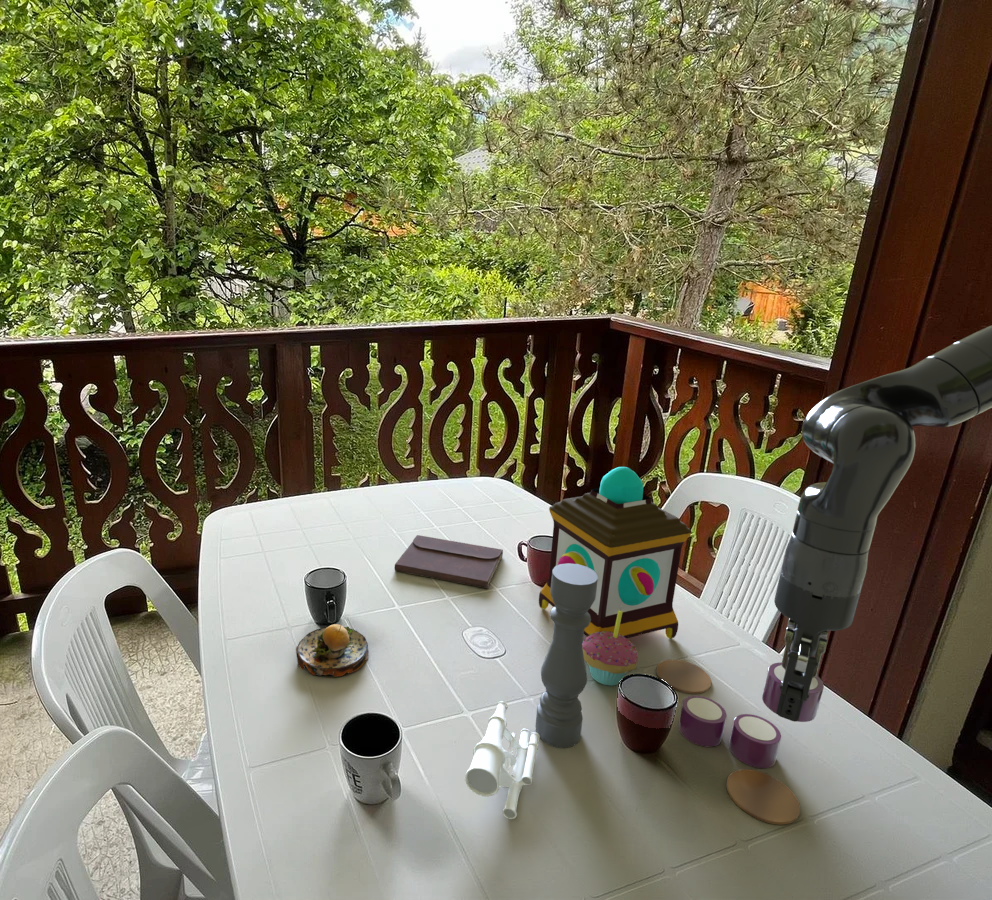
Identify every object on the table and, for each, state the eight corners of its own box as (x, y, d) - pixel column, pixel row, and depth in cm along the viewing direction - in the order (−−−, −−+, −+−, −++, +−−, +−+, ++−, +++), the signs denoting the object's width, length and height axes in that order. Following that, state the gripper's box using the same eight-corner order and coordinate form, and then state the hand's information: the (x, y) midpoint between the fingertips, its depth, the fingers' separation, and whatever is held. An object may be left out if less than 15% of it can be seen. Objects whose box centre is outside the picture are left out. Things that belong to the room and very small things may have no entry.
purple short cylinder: (817, 701, 77) (825, 673, 75) (814, 729, 72) (822, 699, 71) (765, 683, 80) (771, 656, 78) (759, 708, 75) (765, 680, 74)
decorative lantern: (613, 586, 128) (631, 444, 118) (688, 642, 110) (717, 479, 101) (527, 605, 121) (539, 455, 112) (593, 667, 103) (614, 495, 94)
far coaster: (714, 673, 102) (715, 671, 102) (705, 701, 96) (706, 698, 96) (662, 655, 106) (662, 653, 106) (650, 680, 100) (650, 678, 100)
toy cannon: (514, 745, 89) (544, 730, 87) (496, 827, 77) (530, 812, 74) (477, 702, 89) (506, 686, 87) (453, 777, 77) (486, 761, 74)
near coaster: (801, 790, 80) (802, 788, 80) (797, 836, 74) (798, 834, 74) (731, 762, 84) (731, 759, 84) (721, 803, 78) (722, 800, 78)
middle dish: (777, 748, 87) (783, 724, 86) (773, 775, 82) (779, 750, 81) (731, 731, 90) (736, 707, 89) (725, 756, 85) (730, 731, 84)
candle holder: (526, 732, 89) (541, 574, 82) (549, 709, 94) (564, 557, 86) (566, 755, 85) (586, 591, 78) (588, 730, 90) (608, 573, 82)
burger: (358, 629, 113) (358, 592, 110) (377, 670, 102) (377, 630, 100) (291, 641, 109) (289, 603, 107) (303, 685, 99) (301, 643, 96)
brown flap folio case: (487, 589, 126) (487, 580, 126) (394, 571, 133) (394, 562, 132) (502, 556, 140) (503, 548, 139) (417, 541, 146) (417, 533, 146)
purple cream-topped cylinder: (724, 728, 90) (729, 705, 89) (718, 753, 86) (723, 728, 85) (682, 712, 93) (687, 689, 92) (674, 735, 89) (678, 711, 88)
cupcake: (595, 653, 107) (603, 590, 103) (644, 676, 101) (654, 611, 97) (568, 676, 101) (575, 610, 97) (618, 702, 95) (628, 633, 92)
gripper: (787, 544, 78) (761, 660, 83) (774, 593, 67) (745, 724, 72) (862, 561, 74) (829, 682, 79) (861, 617, 63) (823, 754, 68)
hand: (789, 701), depth 76 cm, fingers closed on purple short cylinder, 5 cm apart
